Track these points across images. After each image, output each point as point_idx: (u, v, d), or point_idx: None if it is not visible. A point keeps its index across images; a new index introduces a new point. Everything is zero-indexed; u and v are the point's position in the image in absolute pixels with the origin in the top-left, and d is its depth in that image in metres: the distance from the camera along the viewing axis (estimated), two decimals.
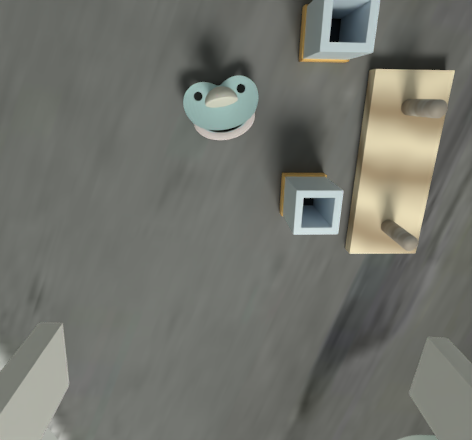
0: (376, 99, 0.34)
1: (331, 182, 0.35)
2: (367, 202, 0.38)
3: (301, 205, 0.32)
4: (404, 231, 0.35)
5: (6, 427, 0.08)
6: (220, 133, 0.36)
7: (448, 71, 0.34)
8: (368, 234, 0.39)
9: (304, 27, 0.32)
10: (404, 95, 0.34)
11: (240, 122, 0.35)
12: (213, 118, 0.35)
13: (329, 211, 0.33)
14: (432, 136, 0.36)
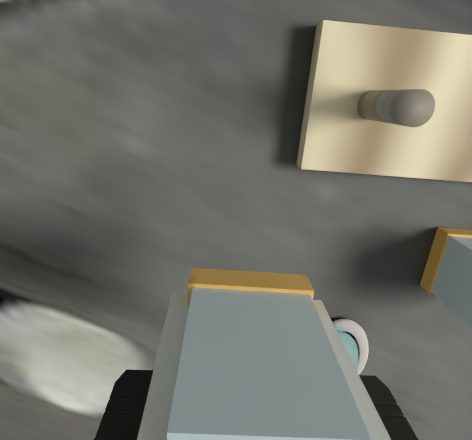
0: (347, 164, 0.21)
1: None
2: None
3: None
4: None
5: None
6: (359, 359, 0.27)
7: (323, 33, 0.18)
8: None
9: None
10: (350, 115, 0.20)
11: (353, 345, 0.26)
12: None
13: None
14: (435, 50, 0.19)
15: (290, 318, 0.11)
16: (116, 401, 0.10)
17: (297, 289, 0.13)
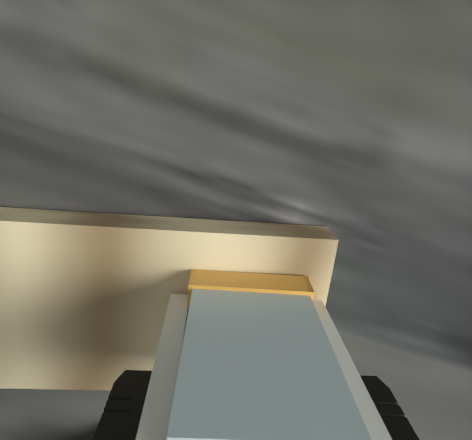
0: None
1: None
2: None
3: None
4: None
5: None
6: None
7: None
8: None
9: None
10: None
11: None
12: None
13: None
14: None
15: (291, 320, 0.11)
16: (114, 401, 0.10)
17: (297, 290, 0.13)
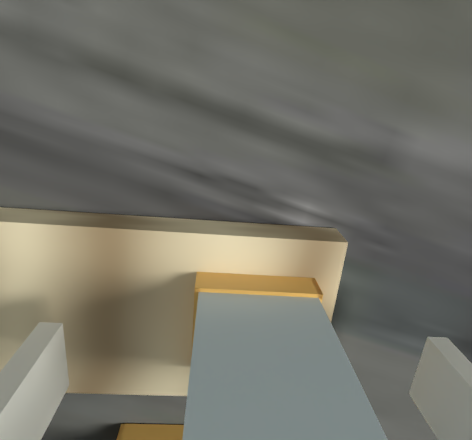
0: None
1: None
2: (178, 375, 0.15)
3: None
4: None
5: (6, 427, 0.08)
6: None
7: None
8: None
9: None
10: None
11: None
12: None
13: None
14: None
15: (301, 323, 0.11)
16: None
17: (306, 293, 0.12)
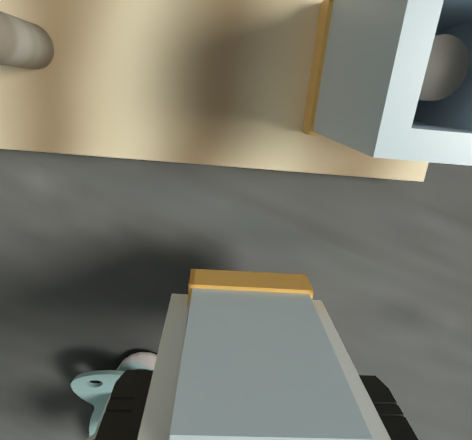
0: (25, 138, 0.14)
1: (185, 338, 0.10)
2: (286, 142, 0.14)
3: None
4: None
5: None
6: None
7: None
8: None
9: None
10: None
11: None
12: None
13: None
14: None
15: None
16: (116, 401, 0.10)
17: None
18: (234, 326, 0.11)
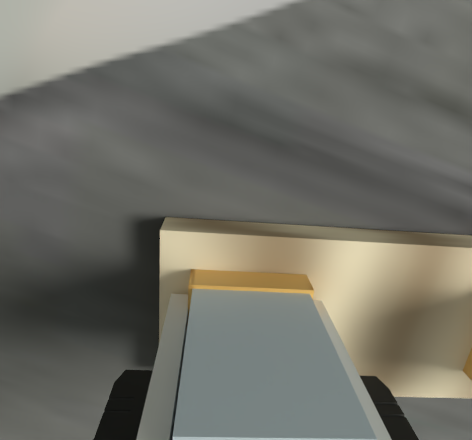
0: None
1: (186, 339, 0.10)
2: (447, 378, 0.16)
3: None
4: None
5: (181, 369, 0.11)
6: None
7: (162, 245, 0.13)
8: None
9: None
10: None
11: None
12: None
13: None
14: (320, 259, 0.14)
15: None
16: (115, 401, 0.10)
17: None
18: (235, 326, 0.11)
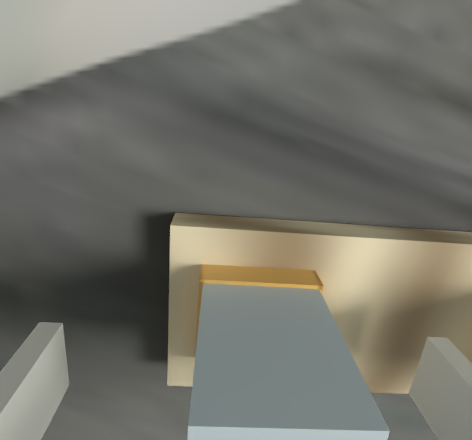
0: None
1: (198, 332, 0.10)
2: None
3: None
4: None
5: (6, 428, 0.08)
6: None
7: (172, 240, 0.13)
8: None
9: None
10: None
11: None
12: None
13: None
14: (329, 255, 0.14)
15: None
16: None
17: None
18: (246, 320, 0.11)
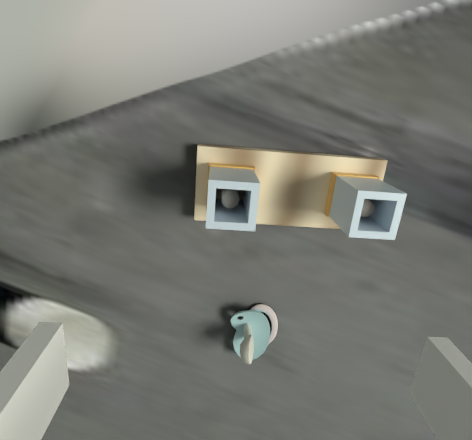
0: None
1: (209, 173, 0.32)
2: (318, 217, 0.38)
3: (222, 223, 0.30)
4: None
5: (6, 427, 0.08)
6: (272, 329, 0.44)
7: (198, 152, 0.35)
8: None
9: None
10: (218, 192, 0.36)
11: (266, 319, 0.42)
12: (260, 335, 0.44)
13: None
14: (259, 159, 0.35)
15: (375, 181, 0.34)
16: None
17: (373, 176, 0.35)
18: (225, 171, 0.32)
